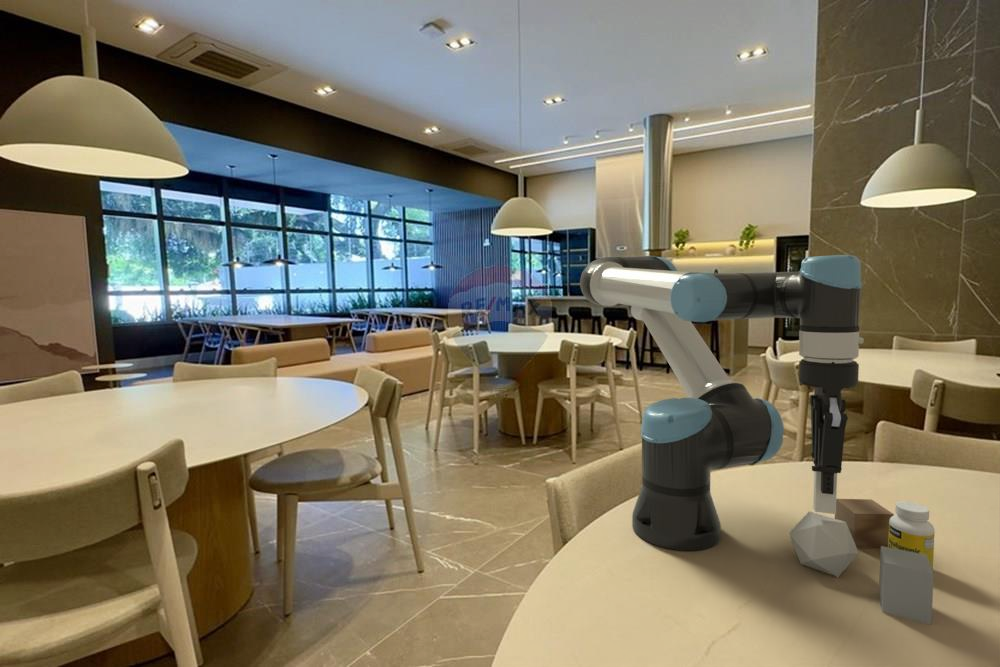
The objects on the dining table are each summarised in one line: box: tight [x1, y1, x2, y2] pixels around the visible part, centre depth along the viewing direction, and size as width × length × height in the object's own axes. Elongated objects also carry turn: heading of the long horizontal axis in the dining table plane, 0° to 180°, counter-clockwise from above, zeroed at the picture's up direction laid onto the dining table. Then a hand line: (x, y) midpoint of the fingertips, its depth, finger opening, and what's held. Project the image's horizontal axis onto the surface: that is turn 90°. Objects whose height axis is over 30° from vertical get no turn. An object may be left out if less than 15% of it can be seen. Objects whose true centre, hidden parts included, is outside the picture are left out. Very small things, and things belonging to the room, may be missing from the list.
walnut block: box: [834, 498, 895, 550], centre depth 86 cm, size 6×6×6 cm
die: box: [788, 511, 859, 578], centre depth 78 cm, size 8×9×10 cm
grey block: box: [878, 546, 934, 625], centre depth 68 cm, size 5×5×7 cm
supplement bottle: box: [888, 500, 935, 571], centre depth 77 cm, size 5×5×10 cm
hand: (824, 510), depth 78 cm, fingers closed
